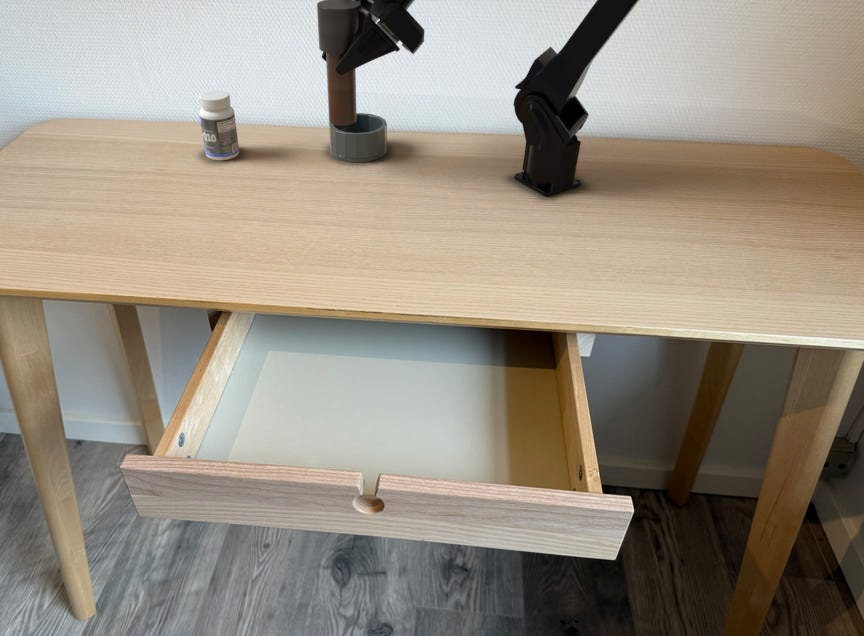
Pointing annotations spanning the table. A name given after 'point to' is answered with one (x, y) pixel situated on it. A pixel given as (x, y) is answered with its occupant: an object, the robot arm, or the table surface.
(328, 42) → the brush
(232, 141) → the pill bottle
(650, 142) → the table surface
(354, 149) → the cup
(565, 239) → the table surface
